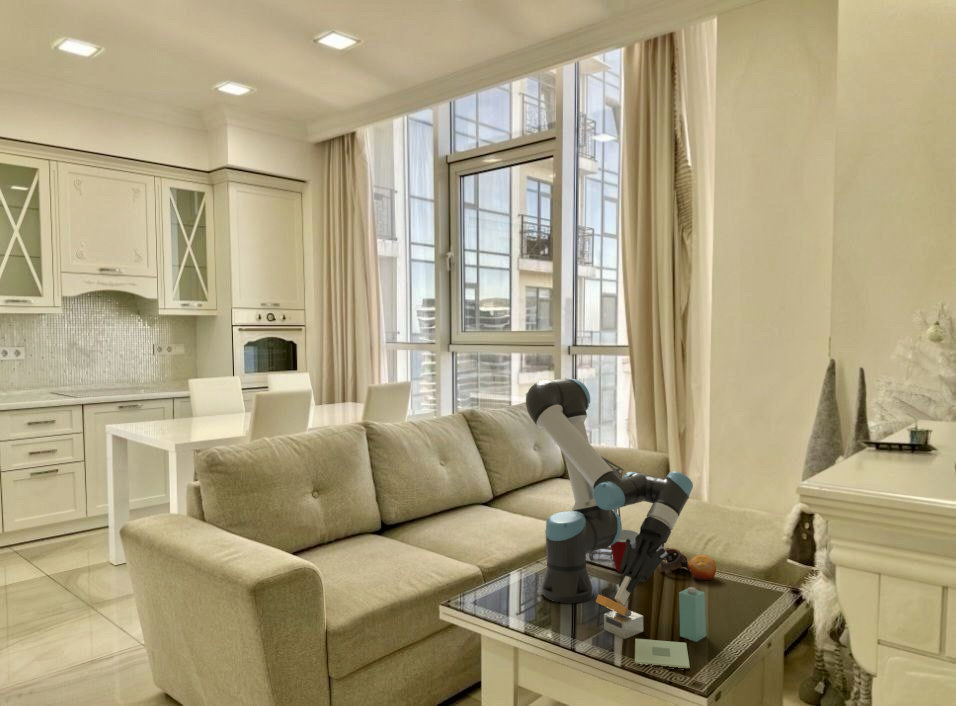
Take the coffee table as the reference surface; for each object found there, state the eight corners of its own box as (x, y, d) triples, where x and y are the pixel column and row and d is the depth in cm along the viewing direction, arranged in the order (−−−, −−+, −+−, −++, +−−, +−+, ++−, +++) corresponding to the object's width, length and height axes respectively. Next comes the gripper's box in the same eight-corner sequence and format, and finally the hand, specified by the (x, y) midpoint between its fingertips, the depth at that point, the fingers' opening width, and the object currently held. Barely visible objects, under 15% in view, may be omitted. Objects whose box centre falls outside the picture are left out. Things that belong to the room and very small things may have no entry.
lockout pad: (634, 664, 149) (634, 660, 149) (635, 641, 160) (635, 638, 160) (689, 670, 146) (689, 666, 146) (686, 646, 157) (686, 642, 157)
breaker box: (622, 622, 172) (622, 607, 172) (643, 631, 166) (643, 615, 166) (603, 629, 167) (603, 614, 167) (624, 639, 162) (623, 623, 162)
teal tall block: (680, 636, 163) (678, 588, 163) (689, 630, 166) (688, 583, 166) (696, 641, 159) (695, 593, 159) (705, 636, 162) (704, 588, 162)
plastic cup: (601, 571, 211) (600, 534, 211) (617, 562, 219) (616, 527, 219) (631, 578, 204) (631, 540, 204) (647, 569, 212) (646, 532, 212)
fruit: (715, 568, 207) (715, 551, 203) (716, 589, 201) (716, 571, 197) (689, 566, 210) (688, 549, 206) (689, 586, 203) (688, 569, 199)
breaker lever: (620, 605, 169) (597, 593, 164) (632, 610, 166) (608, 598, 161) (617, 613, 168) (594, 601, 163) (629, 618, 165) (606, 606, 160)
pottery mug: (697, 576, 206) (688, 556, 204) (671, 590, 206) (662, 570, 204) (680, 555, 218) (672, 536, 215) (656, 568, 218) (647, 549, 215)
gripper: (685, 536, 171) (646, 617, 161) (646, 527, 182) (607, 602, 172) (671, 520, 168) (631, 601, 158) (633, 511, 179) (592, 586, 169)
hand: (619, 601), depth 165 cm, fingers closed
